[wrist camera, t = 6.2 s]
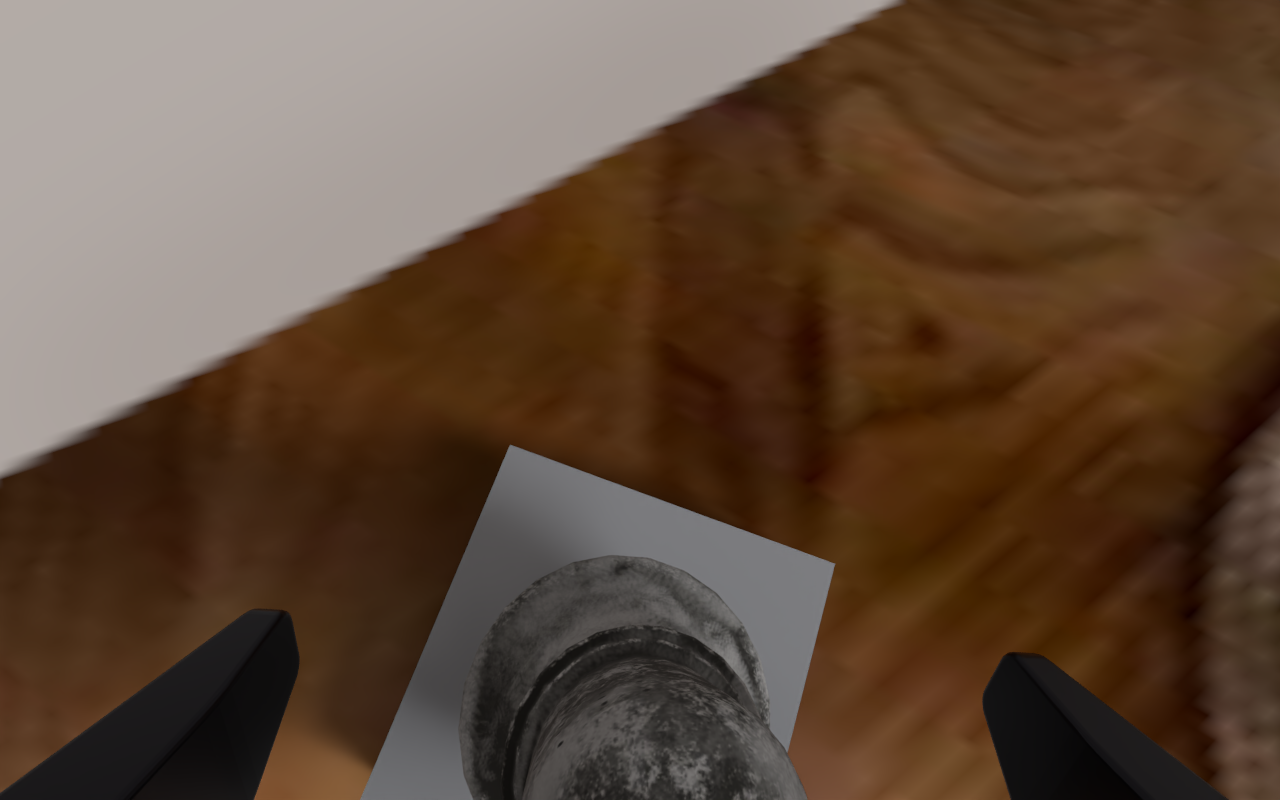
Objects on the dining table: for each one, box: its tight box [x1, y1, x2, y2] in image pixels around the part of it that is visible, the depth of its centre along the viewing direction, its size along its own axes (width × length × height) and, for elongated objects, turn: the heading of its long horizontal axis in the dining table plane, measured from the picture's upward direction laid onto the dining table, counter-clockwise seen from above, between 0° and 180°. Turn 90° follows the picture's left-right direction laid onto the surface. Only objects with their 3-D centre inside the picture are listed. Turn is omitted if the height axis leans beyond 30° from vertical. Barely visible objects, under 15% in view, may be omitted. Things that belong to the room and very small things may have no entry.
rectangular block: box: [360, 445, 835, 800], centre depth 17 cm, size 9×9×3 cm
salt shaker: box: [458, 555, 807, 800], centre depth 10 cm, size 6×6×12 cm
